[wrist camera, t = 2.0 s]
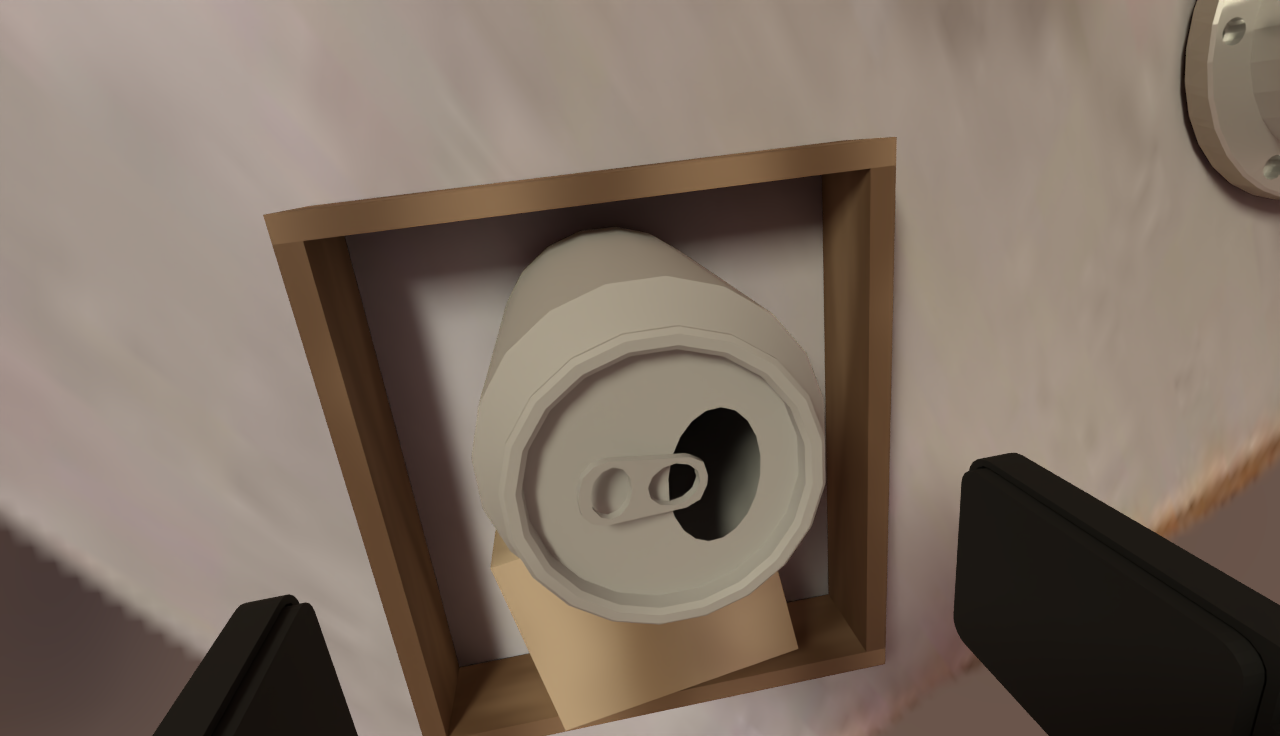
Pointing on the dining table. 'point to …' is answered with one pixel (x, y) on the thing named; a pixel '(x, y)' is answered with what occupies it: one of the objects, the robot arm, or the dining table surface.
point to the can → (646, 431)
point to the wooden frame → (379, 483)
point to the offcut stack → (635, 644)
